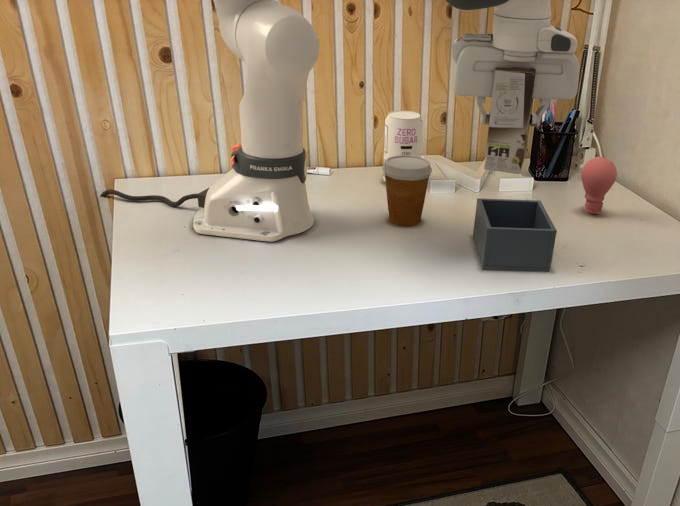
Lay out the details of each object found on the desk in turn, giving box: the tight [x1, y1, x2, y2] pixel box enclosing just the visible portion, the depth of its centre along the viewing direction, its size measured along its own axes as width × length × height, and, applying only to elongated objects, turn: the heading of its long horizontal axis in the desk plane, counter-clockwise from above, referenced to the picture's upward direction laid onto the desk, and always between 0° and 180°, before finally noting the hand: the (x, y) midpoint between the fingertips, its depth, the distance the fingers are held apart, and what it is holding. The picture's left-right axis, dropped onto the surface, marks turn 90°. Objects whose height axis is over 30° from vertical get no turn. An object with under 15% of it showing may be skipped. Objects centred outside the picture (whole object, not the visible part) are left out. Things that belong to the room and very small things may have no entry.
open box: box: [472, 197, 558, 273], centre depth 134 cm, size 12×15×8 cm
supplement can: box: [382, 110, 424, 183], centre depth 161 cm, size 8×8×15 cm
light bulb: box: [580, 156, 618, 215], centre depth 152 cm, size 7×7×12 cm
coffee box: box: [483, 67, 536, 175], centre depth 122 cm, size 9×6×16 cm
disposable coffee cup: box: [382, 155, 433, 228], centre depth 143 cm, size 10×10×12 cm
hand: (510, 124), depth 122 cm, fingers closed on coffee box, 7 cm apart
